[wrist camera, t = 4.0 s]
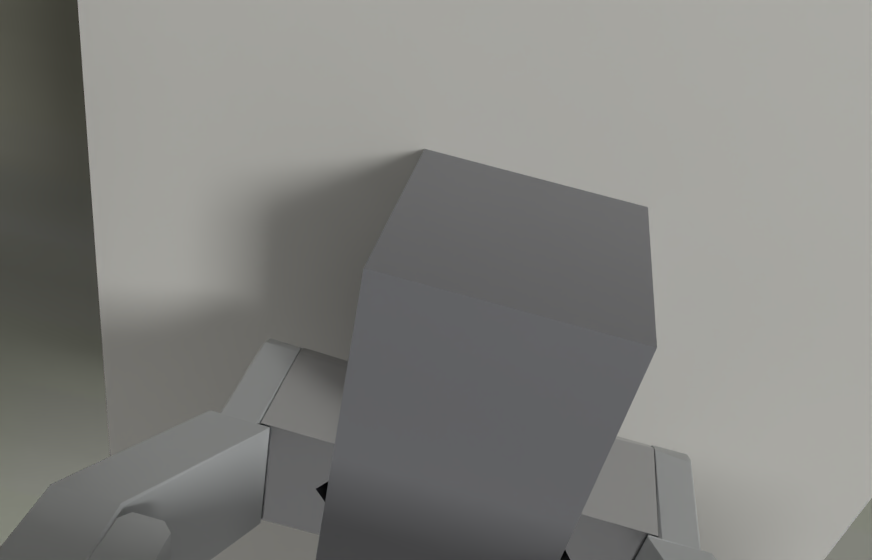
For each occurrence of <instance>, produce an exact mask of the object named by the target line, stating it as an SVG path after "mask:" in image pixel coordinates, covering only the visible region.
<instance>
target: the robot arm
mask: <svg viewBox="0 0 872 560" xmlns="http://www.w3.org/2000/svg"><path fill="white" fill-rule="evenodd" d="M347 366H348V361H346V360H343V359H339V358H336V357H333V356H330V355H326V354H323V353H320V352H316V351H313V350H310V349H306V348H300V347H297V346H294V345H291V344H288V343H284V342H281V341H278V340H275V339H271V338H270V339H269V340H267V341H266V342H265V343H263V344H262V346H261V348H260V349H259V351H258V352H257V354H256V356H255V357H254V359H253V360H252V362H251V364H250V365H249V367H248V368H247V370H246V372H245V373H244V375H243V377H242V378H241V380H240V381H239V383H238V385H237V386H236V388H235V389H234V391H233V393H232V394H231V396H230V397H229V399H228V401H227V402H226V404H225V405H224V407H223V409H222V410H221V412H220V413H218V412H215V411H211V410H209V411H207V412H205V413H203V414H201V415H199V416H196V417H194V418H192V419H190V420H188V421H186V422H183V423H181V424H179V425H177V426H175V427H173V428H171V429H168V430H166V431H164V432H162V433H160V434H158V435H156V436H153V437H151V438H149V439H147V440H145V441H143V442H141V443H138V444H136V445H134V446H132V447H130V448H128V449H125V450H123V451H121V452H119V453H117V454H115V455H113V456H110V457H108V458H106V459H104V460H102V461H100V462H98V463H95V464H93V465H91V466H89V467H87V468H85V469H83V470H80V471H78V472H76V473H74V474H72V475H70V476H67V477H65V478H63V479H61V480H59V481H57V482H55V483H52V484H51V485H50V486H49V487H48V488H47V489H46V491H45V492H44V493H43V494H42V496H41V497H40V498H39V499H38V501H37V502H36V503H35V504H34V506H33V507H32V508H31V509H30V511H29V512H28V513H27V514H26V516H25V517H24V518H23V519H22V521H21V522H20V523H19V524H18V526H17V527H16V528H15V529H14V531H13V532H12V533H11V534H10V536H9V537H8V538H7V539H6V541H5V542H4V543H3V544H2V546H1V547H0V560H211V559H212V558H214V557H215V556H217V555H218V554H219V553H221V552H222V551H223V550H225V549H226V548H227V547H229V546H230V545H232V544H233V543H234V542H236V541H237V540H238V539H240V538H241V537H243V536H244V535H245V534H247V533H248V532H249V531H251V530H252V529H253V528H255V527H256V526H258V525H259V524H260V523H261V520H265V521H268V522H272V523H276V524H280V525H284V526H287V527H291V528H295V529H299V530H303V531H307V532H310V533H314V534H318V535H320V530H321V524H322V518H323V512H324V506H325V499H326V493H327V487H328V481H329V475H330V469H331V463H332V457H333V451H334V445H335V439H336V433H337V427H338V420H339V414H340V408H341V402H342V396H343V390H344V384H345V378H346V372H347ZM560 560H716V558H715V557H714V556H713V554H712V553H709V552H706V551H702V550H701V546H700V537H699V528H698V519H697V510H696V501H695V492H694V483H693V474H692V465H691V460H690V458H689V456H688V455H687V454H684V453H680V452H677V451H673V450H669V449H665V448H661V447H657V446H654V445H651V446H650V445H648V444H644V443H640V442H637V441H633V440H629V439H626V438H622V437H618V436H616V439H615V441H614V443H613V445H612V447H611V450H610V452H609V454H608V456H607V458H606V461H605V463H604V465H603V467H602V469H601V471H600V474H599V476H598V478H597V480H596V482H595V485H594V487H593V489H592V491H591V493H590V496H589V498H588V500H587V502H586V504H585V506H584V509H583V511H582V513H581V515H580V517H579V520H578V522H577V524H576V526H575V528H574V531H573V533H572V535H571V537H570V539H569V542H568V544H567V546H566V548H565V550H564V552H563V555H562V557H561V559H560Z"/></svg>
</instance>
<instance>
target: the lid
mask: <svg viewBox="0 0 872 560" xmlns="http://www.w3.org/2000/svg"><path fill="white" fill-rule="evenodd" d="M78 14H79V28H80V42H81V56H82V70H83V84H84V98H85V112H86V126H87V140H88V154H89V168H90V181H91V195H92V209H93V223H94V237H95V251H96V265H97V279H98V293H99V307H100V321H101V335H102V349H103V363H104V377H105V390H106V404H107V418H108V432H109V446H110V456H113V455H115V454H117V453H119V452H121V451H123V450H125V449H128V448H130V447H132V446H134V445H136V444H138V443H141V442H143V441H145V440H147V439H149V438H151V437H153V436H156V435H158V434H160V433H162V432H164V431H166V430H168V429H171V428H173V427H175V426H177V425H179V424H181V423H183V422H186V421H188V420H190V419H192V418H194V417H196V416H199V415H201V414H203V413H205V412H207V411H209V410H211V411H215V412H218V413H220V412H221V410H222V409H223V407H224V405H225V404H226V402H227V401H228V399H229V397H230V396H231V394H232V393H233V391H234V389H235V388H236V386H237V385H238V383H239V381H240V380H241V378H242V377H243V375H244V373H245V372H246V370H247V368H248V367H249V365H250V364H251V362H252V360H253V359H254V357H255V356H256V354H257V352H258V351H259V349H260V348H261V346H262V344H263V343H265V342H266V341H267V340H269V339H270V338H271V339H275V340H278V341H281V342H284V343H288V344H291V345H294V346H297V347H300V348H306V349H310V350H313V351H316V352H320V353H323V354H326V355H330V356H333V357H336V358H339V359H343V360H346V361H348V366H347V372H346V378H345V384H344V390H343V396H342V402H341V408H340V414H339V420H338V427H337V433H336V439H335V445H334V451H333V457H332V463H331V469H330V475H329V481H328V487H327V493H326V499H325V506H324V512H323V518H322V524H321V530H320V535H318V534H314V533H310V532H307V531H303V530H299V529H295V528H291V527H287V526H284V525H280V524H276V523H272V522H268V521H265V520H261V523H260V524H259V525H258V526H256V527H255V528H253V529H252V530H251V531H249V532H248V533H247V534H245V535H244V536H243V537H241V538H240V539H238V540H237V541H236V542H234V543H233V544H232V545H230V546H229V547H227V548H226V549H225V550H223V551H222V552H221V553H219V554H218V555H217V556H215V557H214V558H212V559H211V560H560V559H561V557H562V555H563V552H564V550H565V548H566V546H567V544H568V542H569V539H570V537H571V535H572V533H573V531H574V528H575V526H576V524H577V522H578V520H579V517H580V515H581V513H582V511H583V509H584V506H585V504H586V502H587V500H588V498H589V496H590V493H591V491H592V489H593V487H594V485H595V482H596V480H597V478H598V476H599V474H600V471H601V469H602V467H603V465H604V463H605V461H606V458H607V456H608V454H609V452H610V450H611V447H612V445H613V443H614V441H615V439H616V436H618V437H622V438H626V439H629V440H633V441H637V442H640V443H644V444H648V445H650V446H651V445H654V446H657V447H661V448H665V449H669V450H673V451H677V452H680V453H684V454H687V455H688V456H689V458H690V460H691V465H692V474H693V483H694V492H695V501H696V510H697V519H698V528H699V537H700V546H701V550H702V551H706V552H709V553H712V554H713V556H714V557H715V558H716V560H824V559H825V558H826V556H827V555H828V554H829V552H830V551H831V550H832V548H833V547H834V546H835V545H836V543H837V542H838V541H839V539H840V538H841V537H842V535H843V534H844V533H845V532H846V530H847V529H848V528H849V526H850V525H851V524H852V523H853V521H854V520H855V519H856V517H857V516H858V515H859V513H860V512H861V511H862V510H863V508H864V507H865V506H866V504H867V503H868V502H869V500H870V499H871V498H872V0H78Z"/></svg>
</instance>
